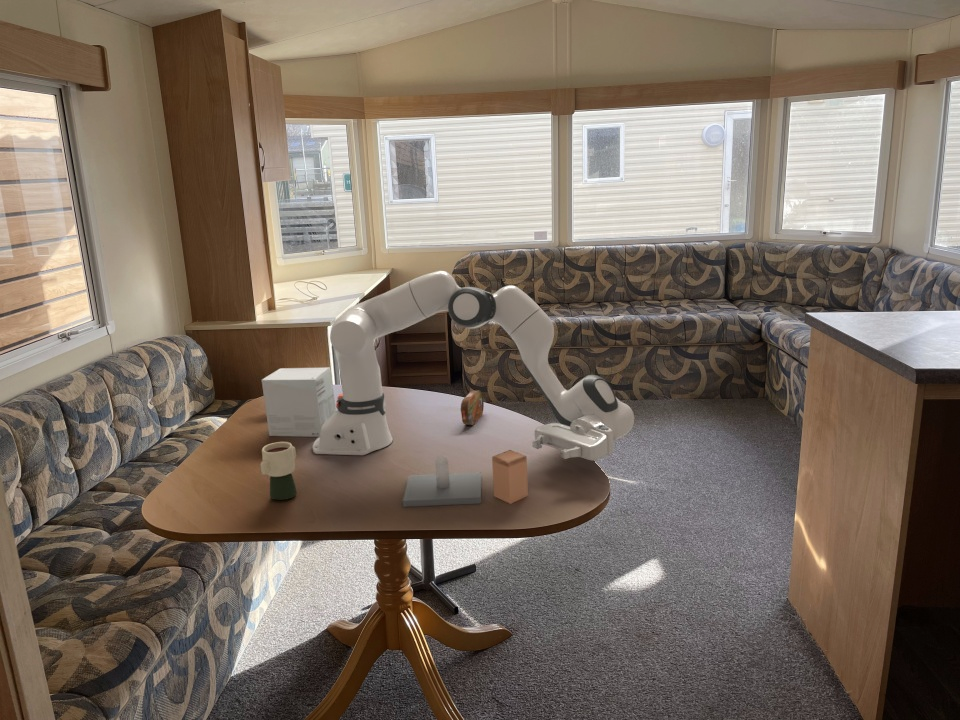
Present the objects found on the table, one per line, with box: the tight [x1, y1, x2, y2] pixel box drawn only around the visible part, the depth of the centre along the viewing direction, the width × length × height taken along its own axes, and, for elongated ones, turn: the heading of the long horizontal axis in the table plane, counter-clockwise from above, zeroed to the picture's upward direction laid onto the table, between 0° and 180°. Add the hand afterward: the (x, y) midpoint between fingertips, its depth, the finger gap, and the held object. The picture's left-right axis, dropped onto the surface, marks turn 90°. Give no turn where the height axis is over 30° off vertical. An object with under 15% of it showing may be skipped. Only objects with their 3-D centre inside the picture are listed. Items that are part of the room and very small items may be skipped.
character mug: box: [260, 441, 298, 501], centre depth 169 cm, size 11×7×13 cm, turn 150°
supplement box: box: [261, 366, 337, 438], centre depth 214 cm, size 17×13×18 cm
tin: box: [460, 390, 484, 426], centre depth 215 cm, size 15×3×8 cm, turn 162°
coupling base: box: [402, 455, 482, 508], centre depth 168 cm, size 18×14×9 cm
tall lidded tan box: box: [491, 449, 529, 505], centre depth 163 cm, size 6×6×10 cm
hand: (548, 450), depth 170 cm, fingers open, 8 cm apart
